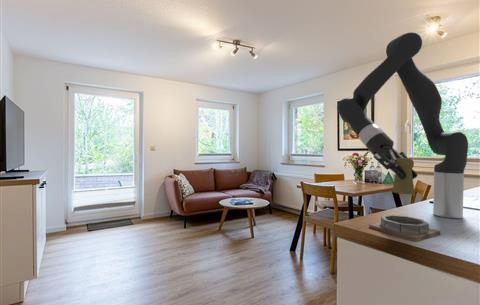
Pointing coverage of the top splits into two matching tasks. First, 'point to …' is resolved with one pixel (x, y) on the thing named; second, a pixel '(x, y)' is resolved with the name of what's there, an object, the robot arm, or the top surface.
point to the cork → (407, 183)
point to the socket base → (405, 235)
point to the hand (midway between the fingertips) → (409, 177)
